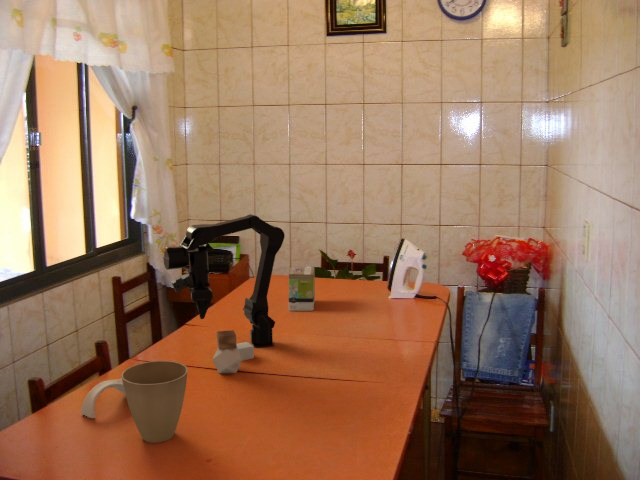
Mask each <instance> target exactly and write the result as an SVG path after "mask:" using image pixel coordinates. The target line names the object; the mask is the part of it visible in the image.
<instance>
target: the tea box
mask: <svg viewBox="0 0 640 480" xmlns="http://www.w3.org/2000/svg"><path fill="white" fill-rule="evenodd" d="M289 269H290V270H289V273H288V311H289V312H291V311H292V312H293V311H294V312H295V311H296V312H299V311H302V312H305V311H306V312H310V311H311V312H312V311H314V310H315V309H314V307H315V300H316V299H315V294H316V293H315V289H316V287H315V285H316V281H315V279H316V278H315V276H316V274H315V272H316V269H315V266H290V268H289Z"/></svg>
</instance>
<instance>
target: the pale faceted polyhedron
mask: <svg viewBox="0 0 640 480" xmlns="http://www.w3.org/2000/svg"><path fill="white" fill-rule="evenodd" d="M212 361H213V363H214V366H215V368H216V370H217V372H218V374H237V373H238V370H239V368H240V366H241V363H242V361H243V360H242V357H241V354H240V352H239V350H238V347H237V345H236V348H235V349H224V350H219V348H218V347H217V348H216V351H215V353H214V355H213V358H212Z"/></svg>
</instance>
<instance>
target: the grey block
mask: <svg viewBox="0 0 640 480" xmlns="http://www.w3.org/2000/svg"><path fill="white" fill-rule="evenodd" d="M236 345H237V347H238V350H239V352H240V354H241V357H242V361H247V360H250V359H254V358H255V353H254V352H255V351H254V350H255V349H254V348H255V347H254V346H253V344H252V343H249V342H248V341H244V342H239V343H236Z"/></svg>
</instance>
